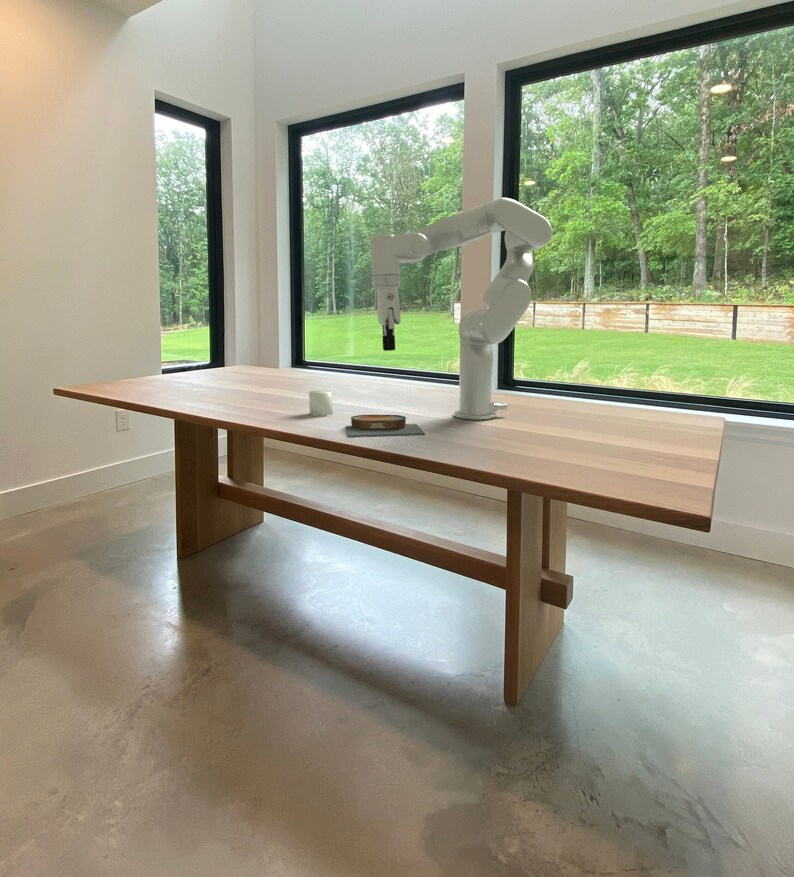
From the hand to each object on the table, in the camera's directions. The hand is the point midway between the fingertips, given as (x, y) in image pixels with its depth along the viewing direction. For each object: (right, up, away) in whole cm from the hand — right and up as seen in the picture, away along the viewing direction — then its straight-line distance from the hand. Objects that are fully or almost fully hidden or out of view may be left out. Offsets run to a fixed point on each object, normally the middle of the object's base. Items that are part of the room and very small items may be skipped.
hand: (389, 350), depth 164 cm
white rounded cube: (-21, -17, +17) cm, 32 cm away
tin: (-3, -19, +1) cm, 20 cm away
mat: (-1, -23, -6) cm, 23 cm away
